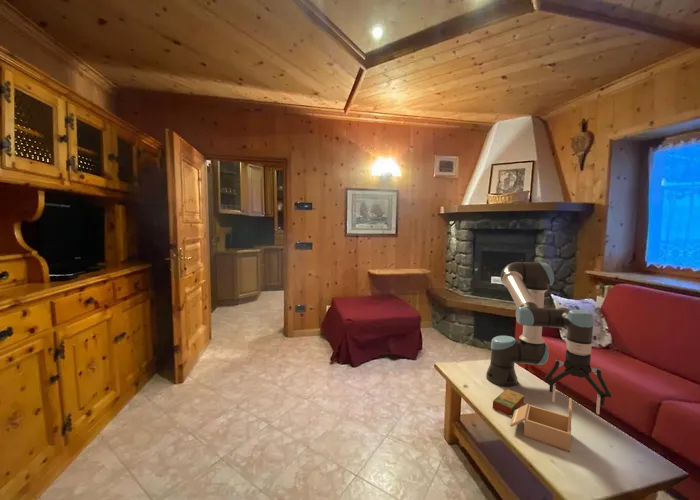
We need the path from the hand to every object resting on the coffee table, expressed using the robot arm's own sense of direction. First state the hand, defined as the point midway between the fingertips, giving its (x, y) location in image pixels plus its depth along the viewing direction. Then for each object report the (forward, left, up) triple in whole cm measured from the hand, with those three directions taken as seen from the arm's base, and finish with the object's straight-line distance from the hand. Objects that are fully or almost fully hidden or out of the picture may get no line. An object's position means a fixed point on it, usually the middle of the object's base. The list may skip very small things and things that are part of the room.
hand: (574, 406), depth 118 cm
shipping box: (0, -11, -15) cm, 18 cm away
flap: (0, -1, -7) cm, 8 cm away
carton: (-14, -24, -15) cm, 32 cm away
